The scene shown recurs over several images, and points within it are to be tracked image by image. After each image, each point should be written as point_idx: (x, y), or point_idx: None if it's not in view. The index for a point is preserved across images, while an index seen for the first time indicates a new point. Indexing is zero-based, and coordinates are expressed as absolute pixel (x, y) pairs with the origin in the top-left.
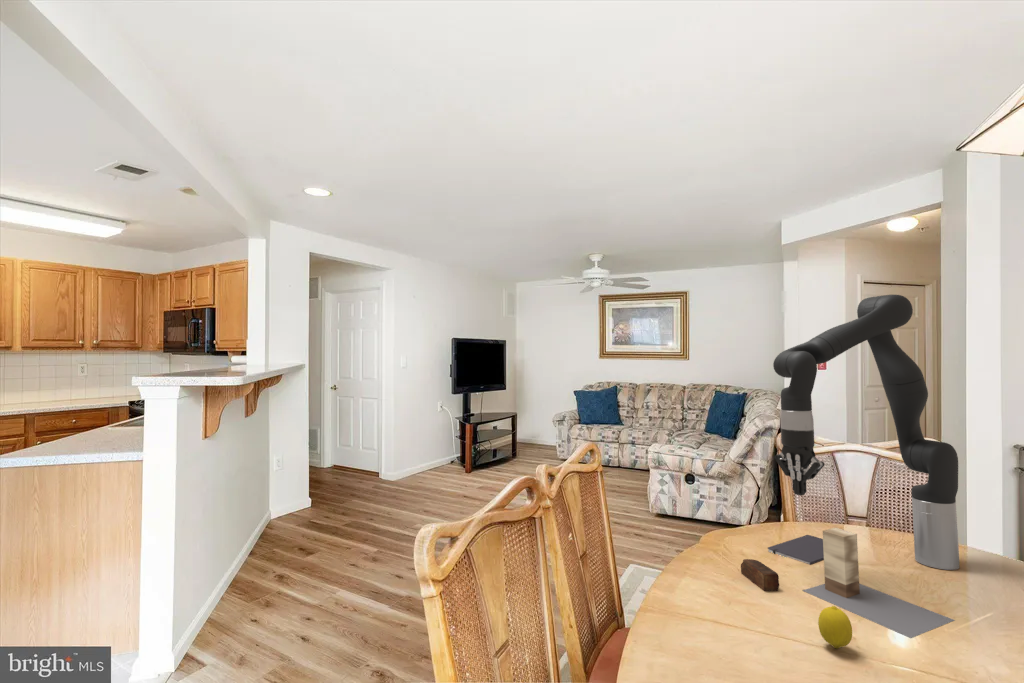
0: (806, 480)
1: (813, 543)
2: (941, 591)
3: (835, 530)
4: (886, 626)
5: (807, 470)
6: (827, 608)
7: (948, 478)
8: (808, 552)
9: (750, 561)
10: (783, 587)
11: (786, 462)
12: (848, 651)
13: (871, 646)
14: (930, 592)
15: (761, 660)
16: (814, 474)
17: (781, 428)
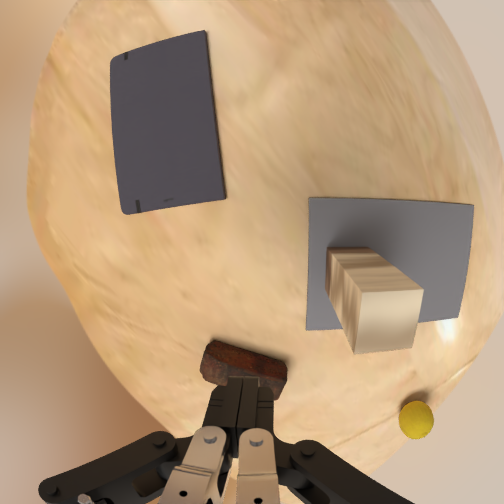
0: (276, 438)
1: (147, 86)
2: (414, 91)
3: (375, 319)
4: (434, 317)
5: (277, 482)
6: (416, 437)
7: None
8: (179, 145)
9: (219, 378)
10: (276, 340)
11: (113, 493)
12: (418, 397)
13: (431, 369)
14: (411, 111)
15: (368, 461)
16: (339, 470)
17: None
